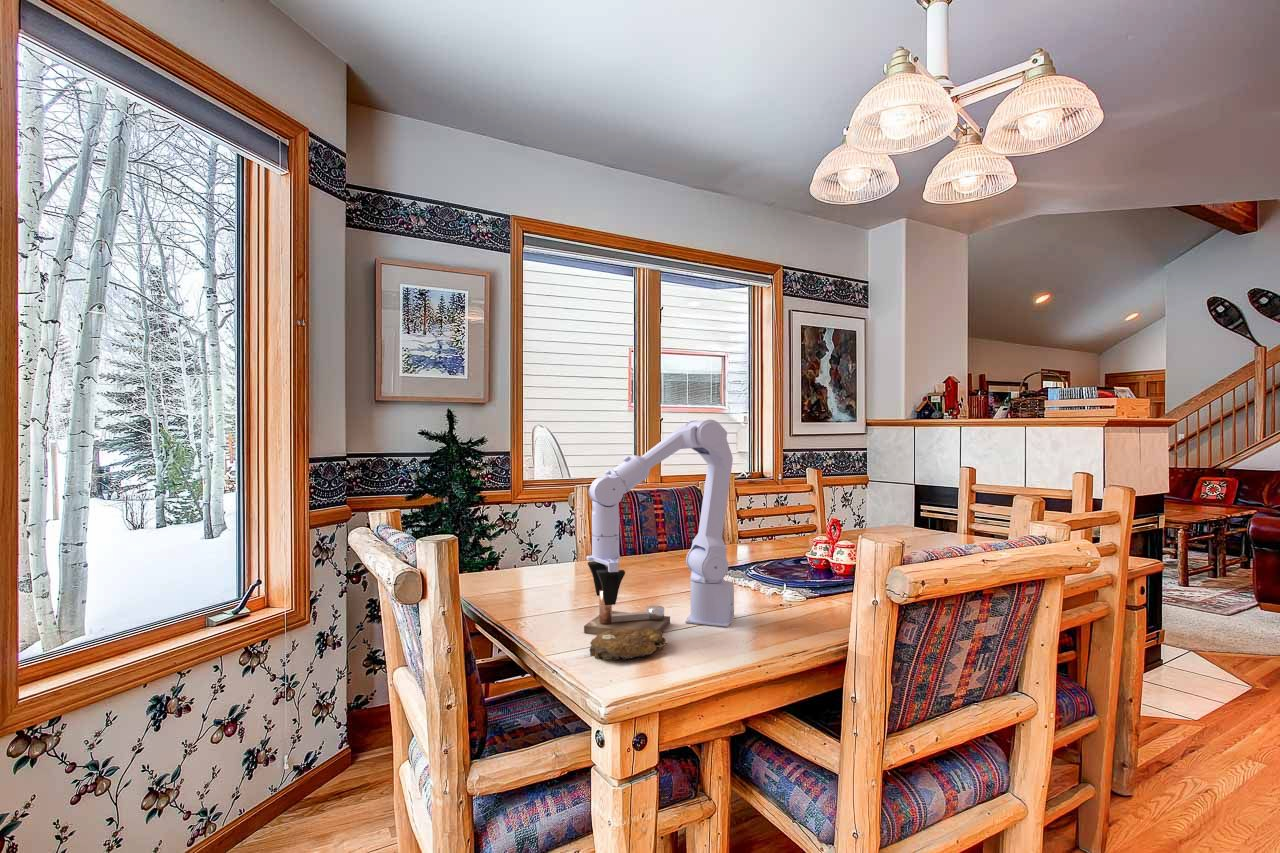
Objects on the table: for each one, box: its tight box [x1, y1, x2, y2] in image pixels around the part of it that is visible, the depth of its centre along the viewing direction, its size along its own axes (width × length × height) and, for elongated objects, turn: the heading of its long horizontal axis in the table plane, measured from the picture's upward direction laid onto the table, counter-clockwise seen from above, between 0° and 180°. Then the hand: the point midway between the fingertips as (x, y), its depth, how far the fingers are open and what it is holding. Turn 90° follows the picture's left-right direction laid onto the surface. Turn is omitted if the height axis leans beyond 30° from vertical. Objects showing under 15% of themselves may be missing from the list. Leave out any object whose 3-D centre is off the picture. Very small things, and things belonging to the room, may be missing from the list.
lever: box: [598, 589, 665, 624], centre depth 131 cm, size 14×4×6 cm, turn 106°
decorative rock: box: [589, 628, 668, 661], centre depth 117 cm, size 11×4×15 cm
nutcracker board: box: [583, 610, 671, 636], centre depth 131 cm, size 15×12×2 cm
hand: (605, 599), depth 129 cm, fingers open, 7 cm apart
